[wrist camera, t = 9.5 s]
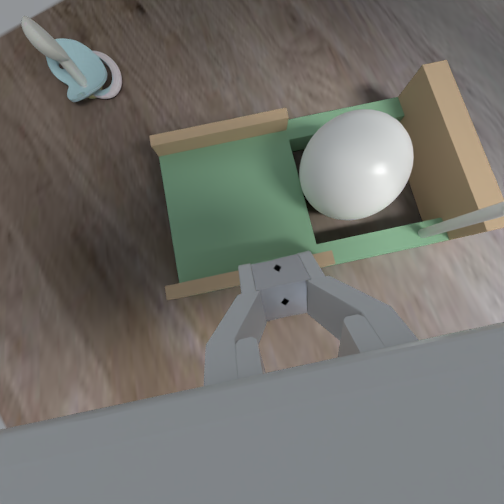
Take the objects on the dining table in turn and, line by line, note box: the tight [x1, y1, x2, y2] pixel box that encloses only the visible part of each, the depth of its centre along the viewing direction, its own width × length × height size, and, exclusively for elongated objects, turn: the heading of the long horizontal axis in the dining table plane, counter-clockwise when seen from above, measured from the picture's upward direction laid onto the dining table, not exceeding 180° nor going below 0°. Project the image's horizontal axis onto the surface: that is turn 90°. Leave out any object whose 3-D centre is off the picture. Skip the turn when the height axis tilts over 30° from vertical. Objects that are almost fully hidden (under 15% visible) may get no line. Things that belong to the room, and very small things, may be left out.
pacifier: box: [21, 16, 122, 102], centre depth 21 cm, size 7×6×6 cm
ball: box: [299, 109, 414, 220], centre depth 17 cm, size 8×8×8 cm
